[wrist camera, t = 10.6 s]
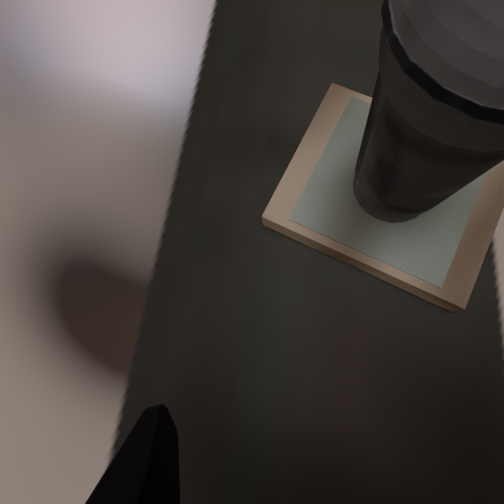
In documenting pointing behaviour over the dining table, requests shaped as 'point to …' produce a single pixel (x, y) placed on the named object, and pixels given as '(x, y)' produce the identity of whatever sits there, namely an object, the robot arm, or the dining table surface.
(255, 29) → the dining table surface
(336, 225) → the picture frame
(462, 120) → the beverage cup
